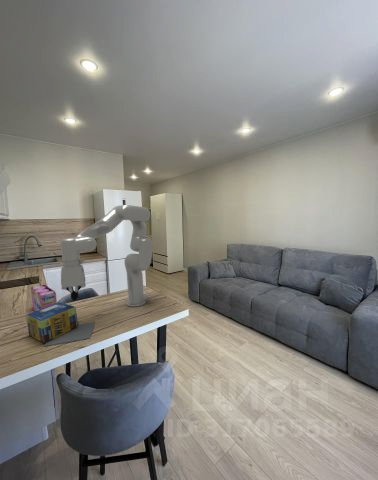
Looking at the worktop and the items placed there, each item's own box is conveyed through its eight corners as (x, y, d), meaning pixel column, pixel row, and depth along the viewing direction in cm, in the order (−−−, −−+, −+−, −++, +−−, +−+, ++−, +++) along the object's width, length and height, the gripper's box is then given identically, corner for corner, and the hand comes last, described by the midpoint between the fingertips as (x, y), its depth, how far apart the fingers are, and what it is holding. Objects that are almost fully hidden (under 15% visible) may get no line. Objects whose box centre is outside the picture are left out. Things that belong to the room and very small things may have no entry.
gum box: (32, 308, 132) (29, 287, 130) (46, 304, 137) (44, 283, 136) (42, 319, 115) (39, 295, 114) (58, 314, 121) (56, 291, 120)
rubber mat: (95, 322, 110) (95, 321, 110) (90, 338, 95) (90, 337, 95) (56, 328, 105) (56, 327, 105) (44, 346, 90) (44, 345, 90)
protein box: (78, 326, 105) (44, 344, 92) (62, 320, 113) (28, 335, 100) (75, 306, 103) (40, 321, 90) (59, 301, 111) (24, 314, 98)
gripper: (89, 260, 109) (92, 294, 111) (56, 263, 105) (60, 299, 107) (87, 263, 102) (90, 300, 104) (51, 266, 98) (55, 304, 99)
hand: (75, 299), depth 105 cm, fingers closed
